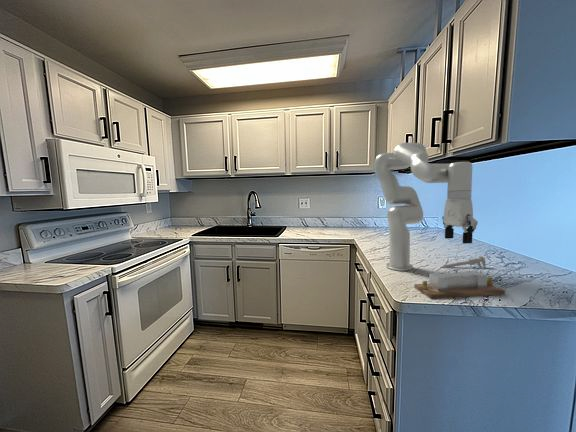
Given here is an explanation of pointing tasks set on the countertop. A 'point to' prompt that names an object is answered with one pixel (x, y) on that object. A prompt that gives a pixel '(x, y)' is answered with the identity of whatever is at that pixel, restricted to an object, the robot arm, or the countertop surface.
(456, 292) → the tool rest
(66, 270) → the countertop surface
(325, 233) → the countertop surface
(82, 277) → the countertop surface
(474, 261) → the caliper
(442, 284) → the light grey block
